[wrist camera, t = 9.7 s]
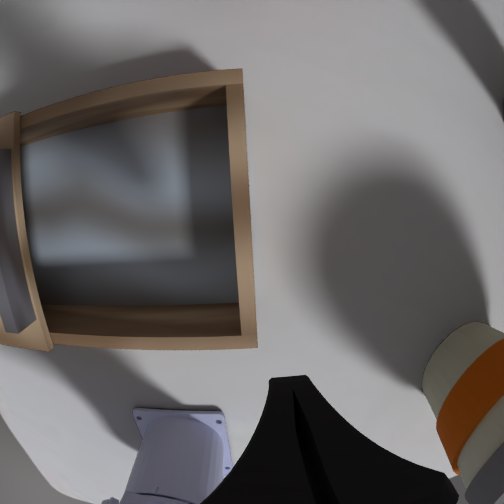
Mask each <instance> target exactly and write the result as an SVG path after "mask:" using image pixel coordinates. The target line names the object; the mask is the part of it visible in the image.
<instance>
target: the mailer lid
mask: <svg viewBox="0 0 504 504" xmlns="http://www.w3.org/2000/svg"><path fill="white" fill-rule="evenodd" d="M20 116H21V112H16V111H14V112H12V113H9V114H7V115H5V116H3V117H0V344H2V345H8V346H14V347H20V348H26V349H33V350H40V351H48V352H50V351H51V350H52V349H53V348H54V346H53V343H52V340H51V337H50V334H49V330H48V327H47V324H46V321H45V317H44V314H43V310H42V306H41V302H40V299H39V295H38V290H37V286H36V282H35V277H34V273H33V268H32V263H31V258H30V252H29V246H28V240H27V234H26V227H25V219H24V210H23V201H22V189H21V172H20Z"/></svg>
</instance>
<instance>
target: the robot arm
mask: <svg viewBox="0 0 504 504" xmlns="http://www.w3.org/2000/svg"><path fill="white" fill-rule="evenodd" d="M132 413H133V416H134V418H135V421H136V424H137V426H138V429H139V431H140V434H141V436H142V439H143V440H142V442H141V445H140V448H139V451H138V454H137V457H136V460H135V463H134V465H133V468H132V471H131V474H130V477H129V480H128V483H127V486H126V489H125V492H124V495H123V497H122V499H121V501H120V503H119V500H117V499H115V498H113V497H112V498H110V499H107V500H104V501H102V504H456V503H457V501H458V497H459V495H458V493H457V491H456V490H455V488H454V486H453V484H452V483H451V481H450V480H449V479H448V477H447V476H446V475H445V473H442V472H439V471H436V470H432V469H429V468H426V467H423V466H420V465H417V464H415V463H412V462H410V461H408V460H405V459H403V458H401V457H399V456H397V455H395V454H393V453H391V452H389V451H388V450H386V449H384V448H382V447H380V446H379V445H377V444H376V443H374V442H373V441H371V440H370V439H368V438H367V437H366V436H364V435H363V434H362V433H360V432H359V431H358V430H357V429H355V428H354V427H353V426H352V425H351V424H349V423H348V422H347V421H346V420H345V419H344V418H343V417H342V416H341V415H340V414H339V413H338V412H337V411H336V410H335V409H334V408H333V407H332V406H331V405H330V404H329V403H328V402H327V400H326V399H325V398H324V397H323V396H322V395H321V393H320V392H319V391H318V390H317V388H316V387H315V386H314V384H313V383H312V382H311V380H310V379H309V377H308V376H306V375H300V376H289V377H277V378H271V379H270V380H269V390H268V396H267V400H266V404H265V407H264V410H263V413H262V416H261V418H260V421H259V423H258V425H257V427H256V430H255V432H254V434H253V436H252V438H251V440H250V442H249V444H248V445H247V447H246V449H245V451H244V452H243V454H242V455H241V457H240V458H239V460H238V461H237V463H236V464H235V466H234V467H233V463H232V458H231V452H230V446H229V440H228V434H227V428H226V422H225V416H224V413H222V412H220V411H180V410H160V409H146V408H134V410H133V412H132ZM217 420H221V421H217ZM223 476H226V477H225V478H224V479H223Z"/></svg>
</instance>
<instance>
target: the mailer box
mask: <svg viewBox="0 0 504 504" xmlns="http://www.w3.org/2000/svg"><path fill="white" fill-rule="evenodd" d="M20 172H21V189H22V201H23V210H24V219H25V227H26V234H27V240H28V246H29V252H30V258H31V263H32V268H33V273H34V277H35V282H36V286H37V290H38V295H39V299H40V302H41V306H42V310H43V314H44V317H45V321H46V324H47V327H48V330H49V334H50V337H51V340H52V343H53V344H62V345H72V346H85V347H99V348H116V349H141V350H220V349H245V348H258V342H257V324H256V306H255V287H254V269H253V251H252V233H251V215H250V197H249V179H248V161H247V143H246V125H245V107H244V90H243V72H242V69H227V70H215V71H204V72H195V73H187V74H180V75H173V76H166V77H160V78H154V79H149V80H144V81H138V82H133V83H129V84H124V85H120V86H115V87H111V88H107V89H103V90H99V91H95V92H92V93H88V94H84V95H81V96H77V97H74V98H71V99H68V100H64V101H61V102H58V103H55V104H52V105H49V106H46V107H44V108H41V109H38V110H35V111H33V112H30V113H27V114H25V115H22V116H20Z"/></svg>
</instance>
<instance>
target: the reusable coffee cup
mask: <svg viewBox="0 0 504 504" xmlns="http://www.w3.org/2000/svg"><path fill="white" fill-rule="evenodd" d="M422 389H423V391H424V394H425V396H426V398H427V400H428V402H429V404H430V406H431V408H432V411H433V413H434V415H435V417H436V419H437V426H436V429H437V432H438V435H439V437H440V440H441V442H442V444H443V447H444V449H445V451H446V454H447V456H448V459H449V461H450V464H451V466H452V469H453V471H454V472H455V473H456V474H459V475H461V477H462V480H463V482H464V485H465V487H466V493H465V499H466V500H467V502H468V503H469V504H504V333H503V332H501V331H499V330H496V329H494V328H492V327H490V326H488V325H486V324H484V323H482V322H471V323H468V324H465V325H463V326H461V327H460V328H458V329H456V330H455V331H454V332H452V333H451V334H450V335H449V336H448V337H447V338H446V339H445V340H444V341H443V342H442V343H441V344H440V345H439V346H438V348H437V349H436V350H435V351H434V353H433V355H432V356H431V358H430V359H429V362H428V364H427V366H426V368H425V371H424V374H423V379H422Z"/></svg>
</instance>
